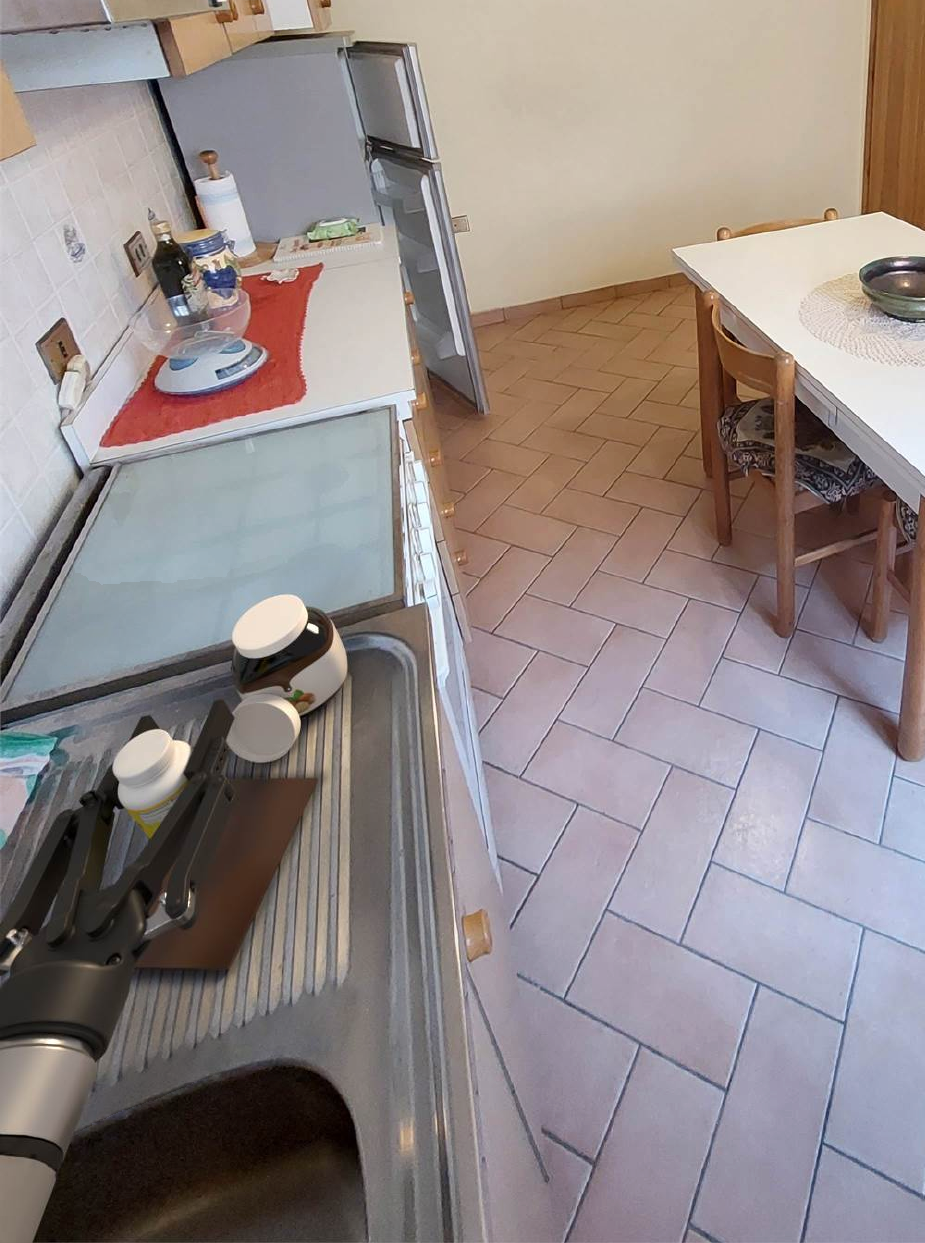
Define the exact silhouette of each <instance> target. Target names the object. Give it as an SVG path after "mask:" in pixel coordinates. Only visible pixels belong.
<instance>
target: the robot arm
mask: <svg viewBox="0 0 925 1243" xmlns="http://www.w3.org/2000/svg"><path fill="white" fill-rule="evenodd" d="M234 718H235V717H234V716H233V714H232V711H231V709H230V708H229V706H228V704H227V703H226V702H225V700H224V699H217V700H214V701H213V703H212V704H211V707H210V710H209V712H208V714H207V716H206V719H205V721H204V724H203V726H202V728H201V731H200V733H199V736H198V738H197V740H196V743H195V745H194V748H192V749H193V752H192V754H191V756H190V759H189V761H188V763H187V766H186V768H185V770H184V773H183V774H184V775H185V777H186V778H187V779H188V781H189V782H188V783H187V785H186V786H185V788H184V789H183V791H182V792H181V794H180V795H179V797H178V798H177V800H176V801H175V803H174V804H173V806H172V807H171V809H170V810H169V812H168V813H167V815H166V816H165V818H164V819H163V821H162V822H161V824H160V825H159V827H158V828H157V830H156V831H155V833H154V834H153V836H152V837H151V839H149V840H148V842H147V843H146V845H145V846H144V847H143V849H142V851H141V852H140V854H139V855H138V857H137V858H136V860H135V862H133V863H132V864H129V865H127V866H126V867H125V868H124V869H123V871H122V872H121V874H120V875H119V876H118V878H117V880H116V882H115V883H114V884H111V885H109V886H107V887H105V888H103V889H101V885H102V880H103V875H104V870H105V865H106V861H107V855H108V851H109V846H110V842H111V837H112V831H113V827H114V821H115V817H116V812H115V811H114V810H115V808H116V809H117V810H118V811H120V810H126V809H125V808H124V806H123V805H122V803H121V802H120V800H119V797H118V786H119V783H120V782H119V781H118V779H117V778H116V776H115V775H114V773H113V763H114V761H112V763H111V764H110V765H109V766H108V767H107V769H106V771H105V773H104V775H103V777H102V779H101V780H100V783H99V785H98V787H97V789H91V790H90V789H89V790H88V791H86V792H85V793H83V794H82V796H81V797H79V800H78V802H79V804H80V805H81V806H80V807H78V808H76V809H74V810H73V809H72V808H67V809H64V810H62V811H61V812H60V813H59V814H57V816H56V817H55V819H54V820H53V822H52V825H51V826H50V828H49V830H48V833H47V834H46V835H45V838H44V840H43V842H42V844H41V846H40V848H39V850H38V852H37V854H36V855H35V857H34V859H33V862H32V864H31V865H30V867H29V869H28V871H27V873H26V875H25V877H24V879H23V881H22V883H21V885H20V887H19V889H18V890H17V892H16V894H15V896H14V898H13V899H12V902H11V904H10V906H9V908H8V910H7V911H6V913H5V916H4V918H3V920H2V921H1V922H0V977H2V976H5V975H6V974H8V973H9V975H8V976H9V977H8V978H7V979H6V980H4V981H3V982H2V983H1V985H0V1243H33V1242H34V1239H35V1237H36V1234H37V1231H38V1229H39V1226H40V1223H41V1220H42V1218H43V1216H44V1213H45V1210H46V1207H47V1205H48V1203H49V1199H50V1197H51V1195H52V1191H53V1188H54V1186H55V1184H56V1181H57V1176H58V1174H59V1171H60V1169H61V1166H62V1164H63V1162H64V1161H65V1157H66V1154H67V1151H68V1149H69V1147H70V1144H71V1141H72V1139H73V1136H74V1134H75V1132H76V1129H77V1127H78V1123H79V1121H80V1118H81V1115H82V1113H83V1111H84V1108H85V1105H86V1102H87V1100H88V1098H89V1095H90V1092H91V1090H92V1088H93V1084H94V1082H95V1080H96V1078H97V1074H98V1070H99V1069H98V1066H97V1062H98V1061H99V1060H100V1059H102V1058H103V1057H104V1055H105V1054H106V1052H107V1051H108V1048H109V1045H110V1044H111V1041H112V1039H113V1036H114V1033H115V1030H116V1029H117V1028H116V1027H117V1025H118V1023H119V1021H120V1017H121V1015H122V1012H123V1010H124V1007H125V1006H126V1002H127V1000H128V997H129V995H130V994H129V993H130V989H131V984H132V979H133V974H134V971H135V969H134V968H135V966H136V964H137V963H138V961H139V960H140V958H141V957H142V955H143V954H144V953H145V952H146V950H147V949H148V948H149V946H150V944H151V942H152V939H153V938H155V937H157V936H159V935H160V934H162V933H164V932H166V931H168V930H170V929H172V928H174V927H175V926H178V927H179V928H180V929H181V930H187V929H189V928H191V927H192V926H193V925H194V924H195V922H196V921H197V919H198V912H199V896H200V890H201V888H202V885H203V883H204V880H205V877H206V875H207V872H208V870H209V867H210V865H211V862H212V859H213V857H214V854H215V852H216V849H217V846H218V844H219V841H220V839H221V836H222V834H223V831H224V828H225V826H226V823H227V821H228V818H229V816H230V813H231V810H232V808H233V805H234V803H235V800H236V797H237V792H236V791H235V789H234V788H233V786H232V785H231V783H230V782H229V781H228V779H229V778H227V776H226V775H225V774H222V772H223V769H224V767H225V765H226V761H227V760H228V756H229V753H230V747H229V745H228V743H227V742H226V739H227V736H228V734H229V731H230V729H231V726H232V723H233V721H234ZM155 729H160V730H162V729H161V727H160V726H159V725H158V723H157V722H156V721H155V719H154V718H153V716H152V715H151V714H147V715H143V716H140V718H139V720H138V722H137V724H136V726H135V727H134V730H133V732H132V734H131V736H130V738H129V739H128V742H129V741H131V740H132V739H133V738H135V737H137V736H138V735H140V734H142V733H144V732H147V731H150V730H155ZM178 856H179V857H178ZM177 857H178V859H177ZM176 859H177V861H176ZM175 861H176V864H175V866H174V868H173V871H172V873H171V876H170V879H169V882H168V886H167V892H164V893H163V894H161V895H160V897H159V905H158V907H157V910H156V911H155V913H154V914H153V915H152V916H151V917H149V913H148V912H149V910H150V909H151V907H152V905H153V904H154V902H155V901H156V899H157V897H158V896H159V894H160V892H161V890H162V882H163V880H164V878H165V876H166V875H167V873H168V872H169V870H170V869H171V867H172V865H173V864H174V862H175ZM63 882H64V883H63ZM53 903H54V905H53ZM52 905H53V909H52V913H51V918H50V920H49V921H48V922H47V923H46V924H45V925H44V926H43V924H44V923H45V920H46V918H47V916H48V914H49V912H50V909H51V908H52ZM42 926H43V927H42Z"/></svg>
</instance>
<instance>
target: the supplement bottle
mask: <svg viewBox="0 0 925 1243" xmlns="http://www.w3.org/2000/svg"><path fill="white" fill-rule="evenodd" d="M160 729H161V728H160ZM160 729H155V730H150V731H147V732H144V733H142V734H140V735H138V736H137V737H135V738H133V739H132V740H131V741H129V740H128V742H127V743H125V745H124V746H122V748H120V750H119V752H118V753H117V755H116V756H115V758H114V760H113V762H114V763H113V762H112V763H113V773H114V775H115V776H116V778H117V779H118V781H119V782H120V783H119V786H118V797H119V800H120V802H121V803H122V805H123V806H124V808H125V809H124V810H126V811H127V813H128V814H129V815H130V816H131V818H132V819H133V820H134V821H135V823H136V824H137V826H138V827H139V828H140V829H141V830H142V831H143V833H144V834H145V835H146V836H147V838H148V839H149V840H150V839H151V837H152V836H153V834H154V833H155V831H156V830H157V828H158V827H159V825H160V824H161V822H162V821H163V819H164V818H165V816H166V815H167V813H168V812H169V810H170V809H171V807H172V806H173V804H174V803H175V801H176V800H177V798H178V797H179V795H180V794H181V792H182V791H183V789H184V788H185V786H186V785H187V783H188V782H189V781H188V779H187V778H186V777H185V775H184V774H183V773H184V770H185V768H186V766H187V763H188V761H189V759H190V756H191V754H192V752H193V749H194V748H192V746H191V745H190V744H189V743H187V742H185V741H182V740H174V739H173V738H172V737H171V735H170V734H169V733H168V732H167V731H166V730H165V729H161V730H160Z"/></svg>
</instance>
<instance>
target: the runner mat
mask: <svg viewBox="0 0 925 1243" xmlns="http://www.w3.org/2000/svg"><path fill="white" fill-rule="evenodd" d="M227 779H228V781H229V782H230V783H231V785H232V786H233V788H234V789H235V791H236V792H237V797H236V800H235V803H234V805H233V808H232V810H231V813H230V816H229V818H228V821H227V823H226V826H225V828H224V831H223V834H222V836H221V839H220V841H219V844H218V846H217V849H216V852H215V854H214V857H213V859H212V862H211V865H210V867H209V870H208V872H207V875H206V877H205V880H204V883H203V885H202V888H201V890H200V896H199V912H198V919H197V921H196V922H195V924H194V925H193V926H192V927H191V928H189V929H187V930H181V929H180V928H179V927H178V926H175V927H174V928H172V929H170V930H168V931H166V932H164V933H162V934H160V935H159V936H157V937H155V938H153V939H152V942H151V944H150V946H149V948H148V949H147V950H146V952H145V953H144V954H143V955H142V957H141V958H140V960H139V961H138V963H137V964H136V966H135V968H134V970H149V971H150V970H154V971H155V970H156V971H157V970H159V971H161V970H163V971H164V970H165V971H167V970H168V971H230V970H231V968H232V966H233V964H234V961H235V960H236V957H237V955H238V953H239V951H240V949H241V947H242V945H243V942H244V941H245V938H246V936H247V934H248V933H249V930H250V927H251V925H252V923H253V921H254V919H255V917H256V915H257V912H258V910H259V908H260V906H261V904H262V902H263V900H264V898H265V895H266V894H267V891H268V889H269V887H270V884H271V883H272V880H273V878H274V876H275V874H276V872H277V869H278V868H279V866H280V863H281V861H282V859H283V856H284V855H285V853H286V850H287V848H288V846H289V844H290V842H291V839H292V838H293V836H294V833H295V832H296V828H297V826H298V824H299V822H300V821H301V818H302V816H303V815H304V812H305V810H306V807H307V805H308V803H309V801H310V799H311V797H312V796H313V792H314V790H315V788H316V786H317V784H318V782H319V778H318V777H280V778H279V777H273V778H271V777H270V778H269V777H267V778H266V777H265V778H264V777H263V778H227ZM178 857H179V856H178ZM178 857H177V859H178ZM177 859H176V861H177ZM176 861H175V862H174V864H173V865H172V867H171V869H170V870H169V872H168V873H167V875H166V876H165V878H164V880H163V882H162V890H161V892H160V894H159V896H158V897H157V899H156V901H155V902H154V904H153V905H152V907H151V909H150V910H149V912H148V913H149V917H151V916H152V915H153V914H154V913H155V911H156V910H157V907H158V905H159V897H160V895H161V894H163V893H164V892H167V886H168V882H169V879H170V876H171V873H172V871H173V868H174V866H175V864H176Z"/></svg>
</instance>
